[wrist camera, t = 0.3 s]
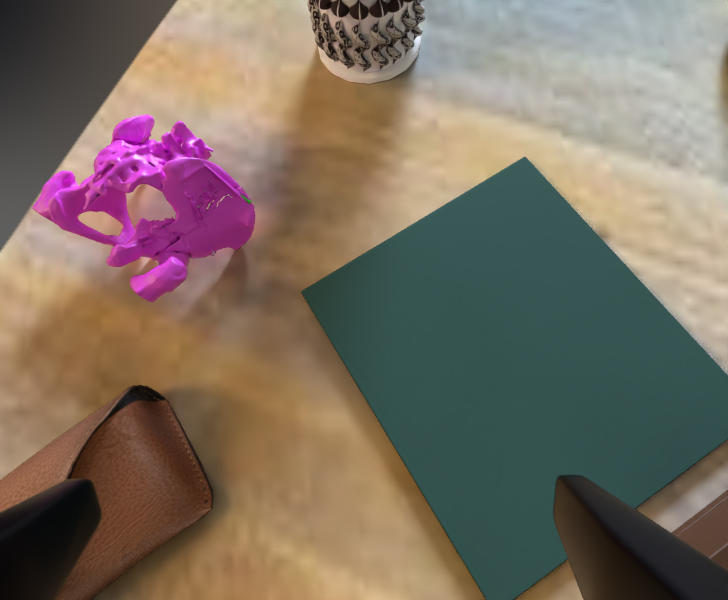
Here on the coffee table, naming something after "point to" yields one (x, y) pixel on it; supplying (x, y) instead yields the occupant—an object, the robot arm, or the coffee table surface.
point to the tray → (709, 531)
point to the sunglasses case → (121, 483)
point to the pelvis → (181, 189)
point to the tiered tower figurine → (367, 37)
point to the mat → (519, 369)
